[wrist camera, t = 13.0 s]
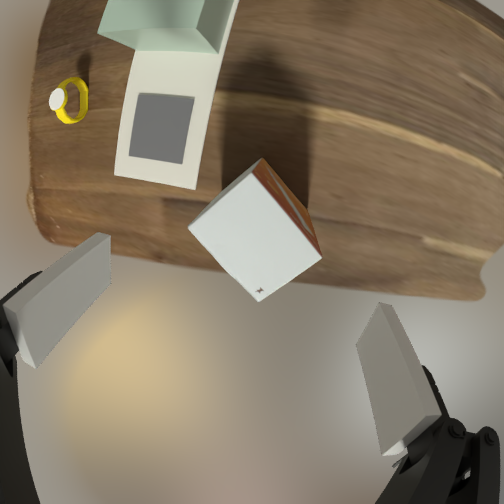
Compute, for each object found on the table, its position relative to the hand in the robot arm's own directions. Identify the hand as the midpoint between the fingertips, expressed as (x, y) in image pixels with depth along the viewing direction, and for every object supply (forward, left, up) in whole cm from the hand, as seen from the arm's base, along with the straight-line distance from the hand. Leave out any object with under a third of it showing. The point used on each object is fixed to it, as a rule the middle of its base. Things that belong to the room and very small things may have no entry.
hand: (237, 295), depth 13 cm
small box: (0, +1, -21) cm, 21 cm away
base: (+13, -12, -21) cm, 27 cm away
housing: (+13, -20, -20) cm, 31 cm away
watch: (+25, -8, -21) cm, 34 cm away
